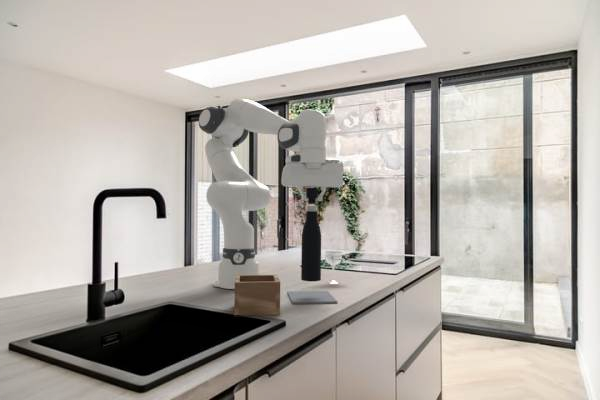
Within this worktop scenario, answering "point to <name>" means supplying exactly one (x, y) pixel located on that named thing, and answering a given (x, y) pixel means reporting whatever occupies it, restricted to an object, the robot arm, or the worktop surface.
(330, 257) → the wineglass
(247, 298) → the walnut crate
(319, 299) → the grey mat
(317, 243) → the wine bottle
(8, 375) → the worktop surface
